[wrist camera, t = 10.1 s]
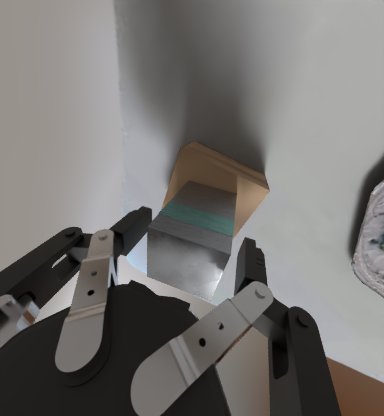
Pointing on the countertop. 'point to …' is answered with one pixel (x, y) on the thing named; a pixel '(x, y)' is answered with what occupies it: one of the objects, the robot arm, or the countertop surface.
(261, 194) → the tan block
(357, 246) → the food plate
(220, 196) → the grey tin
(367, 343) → the countertop surface
